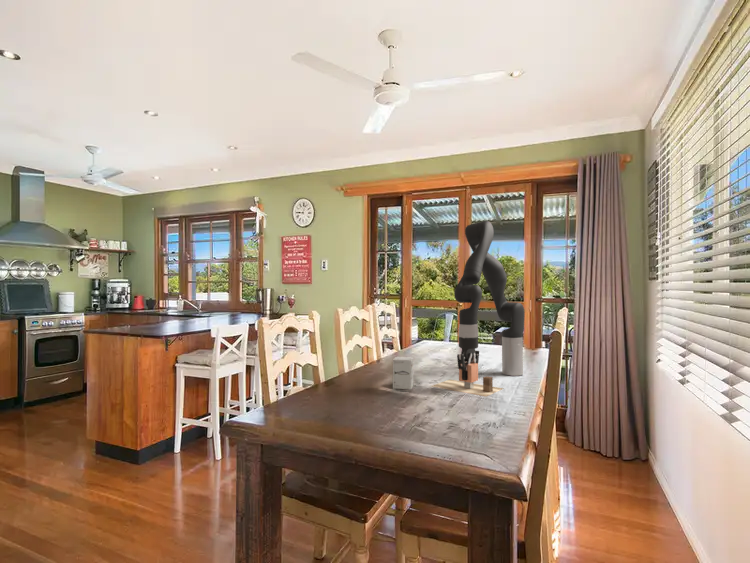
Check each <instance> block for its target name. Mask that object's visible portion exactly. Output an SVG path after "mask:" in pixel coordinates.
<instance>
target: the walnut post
mask: <svg viewBox="0 0 750 563" xmlns="http://www.w3.org/2000/svg"><path fill="white" fill-rule="evenodd" d="M493 380H494V379H493V377H492V376H484V377H482V385H483V391H485V392H492V391H493V387H494V386H493V385H494V384H493Z"/></svg>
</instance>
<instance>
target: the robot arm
mask: <svg viewBox="0 0 750 563" xmlns="http://www.w3.org/2000/svg"><path fill="white" fill-rule="evenodd" d="M464 232H465V233H464V234H465V237H466V238H465V239H466V241H467V242H468V245H469V246H470V249H471V250H472V253H471V255H470V256H469V257H468V258H467V260H466V262H465V265H464V268H463V273H462V276H461V278H460V280H459V281H458V283H457V285H456V287H455V289H454V292H453V293H454V295H453V296H454V299H455V301H456V302H458V303H463V304H471V305H469V307H466V308H462V309H460V310H459V313H458V315H459V316H458V317H459V318H458V324H459V325H458V347H459V348H460V349H461V352H460V354H457V355H456V357H457V358H456V359H457V366H458V370H459V369H461V370H462V380H468V371H467V370H468V365H470V363H478V364H479V359H480V351H479V350H476V349H478V347H479V327H478V326H479V325H478V313H479V307H480V304H481V300H482V297H483V289H482V288H481V287H480V285H477V284H479V283H480V281H481V279H482V278H481V276H482V275H483V277H484V279H485V282H486V284H487V287H488V289H489V292H490V294H491V296H492V299H493V303H494V307H495V310H496V313H497V315H498V318H499V319H500V320H501V321H502V322H506V323H511V324H510V326H509V328H506V329H503V330H502V331H501V371H502V372H501V373H502V375H505V376H512V377H517V376H523V375H524V361H523V360H524V345H523V344H524V339H523V338H524V337H523V336H524V330H525V315H526V314H525V307H524V305H523V304H522V303H521V302H515V301H514V302H513V301H511V302H510V301H507V298H506V295H505V289H506V285H507V282H508V281H507V280H508V275H507V273H506V271H505V269H504V266H503V264H502V263H501V262H500V261H499V260H498V259H497V258H496V257H495V256H493V255H492V254H491V253H489V250H490V247H491V246H492V245H491V244H492V242H493V240H494V235H495V233H494V232H495V231H494V227H493V225H492V222H490V221H488V220H483V221H479V222H475V223H472V224H471V223H470V224H468V225H466V227H465V229H464ZM465 365H466V367H465Z"/></svg>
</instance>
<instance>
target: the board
mask: <svg viewBox="0 0 750 563" xmlns="http://www.w3.org/2000/svg"><path fill="white" fill-rule="evenodd" d="M473 386H474V388H471V389H468V388H464V381H459V380H457V379H456V380H455V379H447V380H444V381H442V382H438V383H435V384H433V385H431V388H438V389H444V390H448V391H449V390H450V391H454V392H457V393H464V394H465V393H466V394H469V395H476V396H480V397H485V398H487V397H490V396H491V395H494V394H495V393H497V392H499V391H503V389H504V388H503V387H496V386H493V391H492V392H485V391H483V384H480V383H475V382H473Z"/></svg>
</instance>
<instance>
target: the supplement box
mask: <svg viewBox="0 0 750 563" xmlns="http://www.w3.org/2000/svg"><path fill="white" fill-rule="evenodd" d="M413 386H414V357H413V356H395V357H394V358H393V359H392V392H405V393H408V391H406V390H412V388H413Z"/></svg>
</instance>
